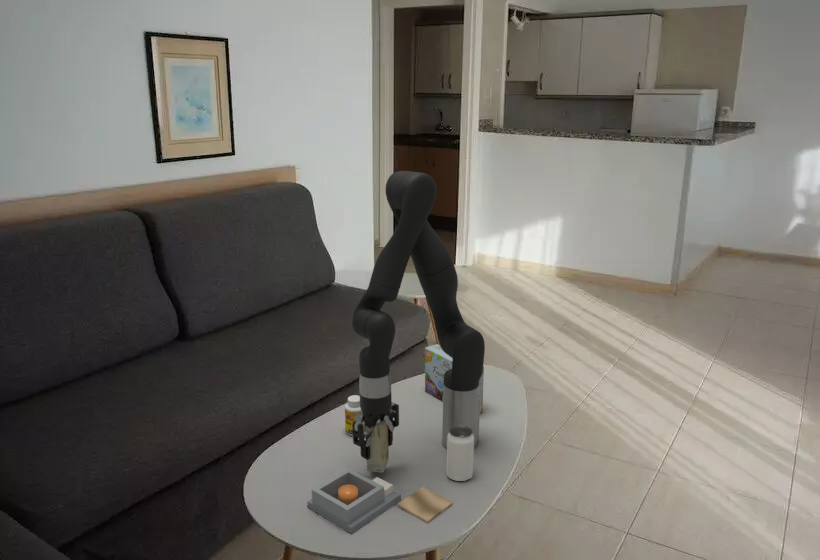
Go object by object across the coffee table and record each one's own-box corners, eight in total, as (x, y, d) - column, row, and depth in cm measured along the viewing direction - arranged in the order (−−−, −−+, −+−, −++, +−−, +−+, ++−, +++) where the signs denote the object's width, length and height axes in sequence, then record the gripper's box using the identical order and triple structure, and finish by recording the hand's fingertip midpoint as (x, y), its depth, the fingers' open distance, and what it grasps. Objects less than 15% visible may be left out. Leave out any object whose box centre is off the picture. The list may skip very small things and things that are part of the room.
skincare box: (383, 473, 160) (382, 428, 156) (366, 471, 160) (364, 426, 157) (389, 458, 166) (388, 414, 162) (372, 457, 166) (370, 413, 163)
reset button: (348, 492, 153) (348, 482, 152) (362, 500, 150) (362, 489, 149) (334, 501, 150) (334, 490, 149) (348, 509, 147) (347, 498, 146)
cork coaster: (422, 489, 157) (422, 486, 157) (453, 504, 152) (453, 502, 151) (397, 506, 151) (397, 504, 151) (427, 523, 145) (427, 520, 145)
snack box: (423, 392, 207) (423, 347, 203) (437, 387, 210) (437, 342, 206) (469, 418, 191) (471, 370, 187) (483, 412, 194) (485, 365, 190)
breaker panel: (358, 477, 162) (357, 458, 160) (401, 499, 153) (401, 480, 152) (307, 507, 150) (306, 487, 149) (351, 533, 142) (350, 513, 140)
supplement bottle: (342, 429, 184) (342, 395, 181) (361, 425, 186) (361, 392, 183) (349, 438, 179) (348, 404, 176) (368, 434, 181) (368, 400, 179)
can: (455, 485, 159) (456, 440, 155) (441, 471, 164) (442, 428, 161) (477, 478, 162) (479, 434, 158) (463, 465, 167) (465, 422, 164)
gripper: (365, 405, 150) (368, 469, 154) (407, 383, 160) (408, 444, 165) (342, 396, 154) (345, 458, 159) (384, 375, 165) (385, 434, 169)
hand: (377, 451), depth 162 cm, fingers closed on skincare box, 7 cm apart
